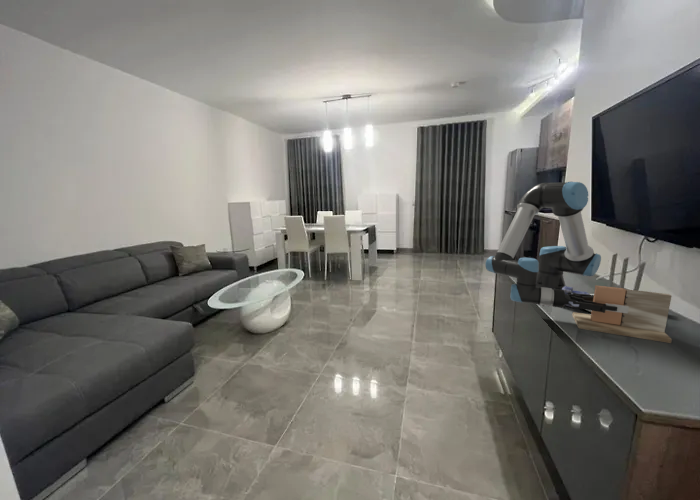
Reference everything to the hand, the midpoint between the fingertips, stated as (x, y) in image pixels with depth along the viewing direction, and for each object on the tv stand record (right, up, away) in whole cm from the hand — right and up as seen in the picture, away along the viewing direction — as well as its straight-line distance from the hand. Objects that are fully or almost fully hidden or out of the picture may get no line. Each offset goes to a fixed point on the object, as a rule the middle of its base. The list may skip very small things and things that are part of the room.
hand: (624, 306), depth 113 cm
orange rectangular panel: (-4, -7, +4) cm, 9 cm away
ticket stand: (-1, -9, +2) cm, 9 cm away
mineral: (-1, -5, +26) cm, 26 cm away
